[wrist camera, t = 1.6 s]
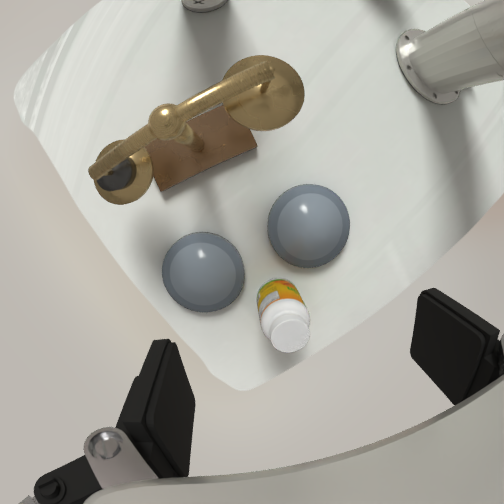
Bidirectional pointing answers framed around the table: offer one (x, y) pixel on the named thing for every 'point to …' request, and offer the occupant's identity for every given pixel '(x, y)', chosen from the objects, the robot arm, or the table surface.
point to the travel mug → (203, 5)
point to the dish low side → (203, 272)
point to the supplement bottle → (283, 315)
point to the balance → (200, 130)
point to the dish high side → (308, 225)
